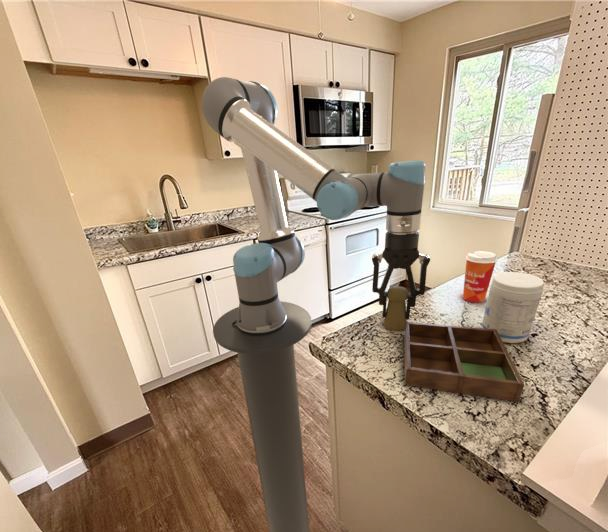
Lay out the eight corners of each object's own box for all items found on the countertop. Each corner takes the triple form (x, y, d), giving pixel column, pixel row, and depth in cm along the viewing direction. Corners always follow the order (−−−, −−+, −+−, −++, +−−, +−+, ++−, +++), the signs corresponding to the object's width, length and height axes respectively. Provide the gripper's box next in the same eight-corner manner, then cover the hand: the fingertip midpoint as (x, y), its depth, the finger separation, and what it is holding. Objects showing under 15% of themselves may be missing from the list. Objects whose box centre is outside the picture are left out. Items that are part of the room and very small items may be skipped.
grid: (404, 384, 64) (406, 368, 62) (404, 335, 80) (405, 321, 78) (519, 402, 57) (524, 384, 55) (493, 344, 73) (496, 329, 71)
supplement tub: (479, 321, 82) (490, 269, 76) (523, 327, 78) (539, 272, 72) (482, 341, 74) (495, 285, 68) (532, 348, 70) (550, 288, 64)
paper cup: (453, 296, 96) (460, 253, 90) (472, 291, 98) (480, 248, 92) (475, 306, 89) (484, 260, 84) (495, 300, 91) (505, 255, 86)
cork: (406, 319, 87) (409, 283, 82) (407, 331, 82) (411, 293, 77) (383, 318, 89) (385, 283, 84) (383, 329, 83) (385, 292, 79)
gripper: (361, 235, 74) (359, 319, 84) (447, 234, 68) (434, 326, 78) (364, 228, 80) (362, 307, 90) (443, 226, 74) (431, 312, 84)
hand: (395, 315), depth 84 cm, fingers closed on cork, 5 cm apart
